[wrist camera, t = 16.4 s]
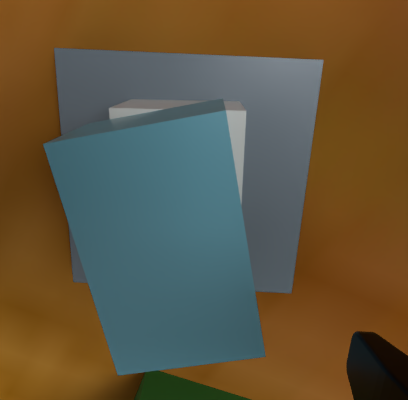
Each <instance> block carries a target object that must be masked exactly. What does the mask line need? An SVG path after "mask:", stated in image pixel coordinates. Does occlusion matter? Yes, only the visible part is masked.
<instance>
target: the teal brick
mask: <svg viewBox="0 0 408 400" xmlns="http://www.w3.org/2000/svg"><path fill="white" fill-rule="evenodd" d="M43 146H44V149H45V152H46V155H47V158H48V161H49V164H50V167H51V170H52V174H53V177H54V180H55V183H56V186H57V189H58V192H59V195H60V198H61V201H62V204H63V208H64V211H65V214H66V217H67V220H68V223H69V226H70V229H71V232H72V235H73V238H74V241H75V245H76V248H77V251H78V254H79V257H80V260H81V263H82V266H83V269H84V272H85V275H86V279H87V282H88V285H89V288H90V291H91V294H92V297H93V300H94V303H95V306H96V309H97V312H98V316H99V319H100V322H101V325H102V328H103V331H104V334H105V337H106V340H107V343H108V346H109V349H110V353H111V356H112V359H113V362H114V365H115V368H116V371H117V374H118V375H126V374H134V373H142V372H150V371H157V370H165V369H173V368H181V367H189V366H197V365H205V364H212V363H220V362H228V361H236V360H244V359H252V358H260V357H266V356H265V350H264V344H263V338H262V331H261V325H260V319H259V313H258V307H257V300H256V294H255V288H254V282H253V276H252V269H251V263H250V257H249V251H248V244H247V238H246V232H245V226H244V220H243V213H242V207H241V201H240V195H239V189H238V182H237V176H236V170H235V164H234V158H233V151H232V145H231V139H230V133H229V127H228V120H227V114H226V109H225V105H224V101H223V98H222V99H216V100H211V101H206V102H200V103H195V104H190V105H184V106H179V107H173V108H168V109H163V110H157V111H152V112H147V113H141V114H136V115H131V116H125V117H120V118H115V119H109V120H104V121H99V122H93V123H89V124H86V125H84V126H82V127H80V128H77V129H75V130H73V131H71V132H69V133H66V134H64V135H62V136H60V137H57V138H55V139H53V140H51V141H48V142H46V143H44V144H43Z"/></svg>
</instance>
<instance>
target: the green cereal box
mask: <svg viewBox="0 0 408 400" xmlns="http://www.w3.org/2000/svg"><path fill="white" fill-rule="evenodd" d="M134 400H251V399H248V398H244V397H241V396H238V395H235V394H231V393H228V392H225V391H222V390H219V389H215V388H212V387H209V386H206V385H203V384H199V383H196V382H193V381H190V380H187V379H183V378H180V377H177V376H174V375H170V374H167V373H164V372H161V371H158V370H157V371H150V372H145V374H144V376H143V379H142V381H141V384H140V386H139V389H138V391H137V394H136V396H135V399H134Z"/></svg>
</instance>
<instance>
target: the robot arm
mask: <svg viewBox="0 0 408 400" xmlns="http://www.w3.org/2000/svg"><path fill="white" fill-rule="evenodd" d="M347 375H348V379H349V382H350V386H351V390H352V394H353V398H354V400H408V356H407V355H406V354H404V353H403V352H402V351H400V350H399V349H397V348H396V347H395V346H393V345H392V344H390V343H389V342H388V341H386V340H385V339H383V338H382V337H380V336H379V335H378V334H376V333H374V332H360V331H357V332H355V333H354V334H353V336H352V339H351V344H350V349H349V354H348V359H347Z"/></svg>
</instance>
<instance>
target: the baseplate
mask: <svg viewBox="0 0 408 400" xmlns="http://www.w3.org/2000/svg"><path fill="white" fill-rule="evenodd" d="M54 53H55V65H56V77H57V89H58V102H59V114H60V126H61V136H62V135H64V134H66V133H69V132H71V131H73V130H75V129H77V128H80V127H82V126H84V125H86V124H89V123H93V122H99V121H104V120H109V119H110V118H109V108H110V107H113V106H115V105H118V104H120V103H123V102H126V101H128V100H131V99H148V100H197V101H211V100H216V99H222V98H223V101H240V103H241V104H242V105H243V107H244V108H245V110H246V128H245V147H244V166H243V185H242V203H241V207H242V213H243V220H244V226H245V232H246V238H247V244H248V251H249V257H250V263H251V269H252V276H253V282H254V288H255V291H256V292H276V293H291V292H292V285H293V278H294V271H295V263H296V256H297V249H298V242H299V234H300V227H301V220H302V213H303V205H304V198H305V191H306V184H307V176H308V169H309V162H310V154H311V147H312V140H313V133H314V125H315V118H316V111H317V104H318V96H319V89H320V82H321V75H322V67H323V60H313V59H290V58H268V57H246V56H223V55H201V54H178V53H156V52H133V51H111V50H88V49H66V48H54ZM69 235H70V247H71V259H72V272H73V282H82V283H88V282H87V279H86V275H85V272H84V269H83V266H82V263H81V260H80V257H79V254H78V251H77V248H76V245H75V241H74V238H73V235H72V232H71V229H70V226H69Z"/></svg>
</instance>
